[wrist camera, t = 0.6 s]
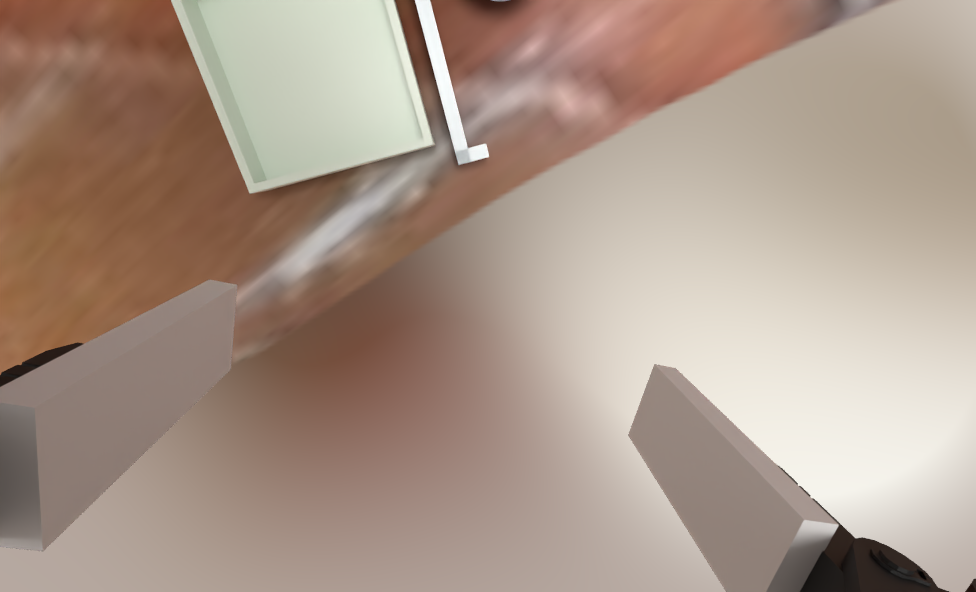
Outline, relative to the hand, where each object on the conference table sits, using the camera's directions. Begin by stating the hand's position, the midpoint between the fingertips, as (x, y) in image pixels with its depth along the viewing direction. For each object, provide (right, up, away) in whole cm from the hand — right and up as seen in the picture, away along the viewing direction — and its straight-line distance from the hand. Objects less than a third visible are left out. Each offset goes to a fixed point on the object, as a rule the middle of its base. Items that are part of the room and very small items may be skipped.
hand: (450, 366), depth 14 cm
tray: (-12, +19, +20) cm, 30 cm away
